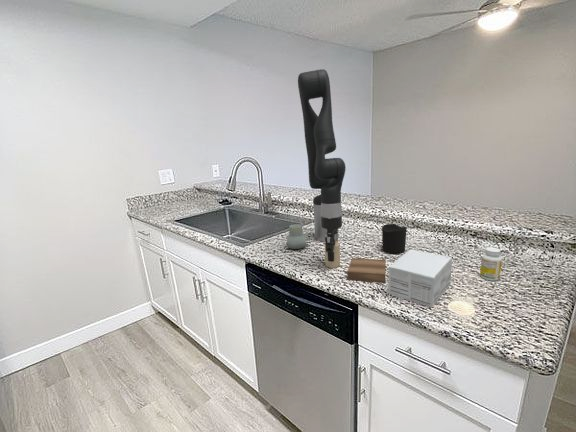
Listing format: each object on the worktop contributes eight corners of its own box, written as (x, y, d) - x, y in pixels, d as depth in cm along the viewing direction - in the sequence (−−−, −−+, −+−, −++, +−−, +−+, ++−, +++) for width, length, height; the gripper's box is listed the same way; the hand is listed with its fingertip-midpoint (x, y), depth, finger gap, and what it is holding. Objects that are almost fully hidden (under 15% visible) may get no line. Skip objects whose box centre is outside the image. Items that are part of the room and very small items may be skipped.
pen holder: (402, 246, 129) (403, 223, 127) (408, 254, 120) (409, 230, 118) (379, 246, 130) (380, 224, 128) (384, 254, 121) (384, 231, 119)
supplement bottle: (487, 281, 95) (491, 253, 93) (476, 274, 100) (478, 247, 98) (504, 280, 96) (507, 251, 93) (491, 273, 101) (494, 245, 98)
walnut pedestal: (351, 265, 113) (351, 257, 113) (385, 267, 110) (385, 259, 109) (347, 279, 102) (347, 271, 102) (385, 282, 99) (385, 274, 98)
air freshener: (306, 251, 131) (305, 228, 128) (287, 252, 131) (285, 229, 128) (305, 242, 141) (304, 221, 139) (287, 243, 142) (286, 222, 139)
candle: (328, 269, 111) (328, 243, 109) (323, 263, 117) (322, 239, 114) (342, 266, 113) (342, 241, 110) (336, 261, 118) (335, 237, 115)
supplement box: (408, 274, 104) (409, 248, 102) (450, 284, 95) (453, 256, 93) (386, 294, 92) (387, 265, 90) (432, 308, 83) (434, 277, 81)
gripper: (324, 209, 117) (326, 250, 122) (316, 219, 104) (318, 265, 108) (344, 209, 115) (345, 251, 119) (338, 219, 102) (339, 266, 106)
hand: (332, 257), depth 114 cm, fingers closed on candle, 5 cm apart
